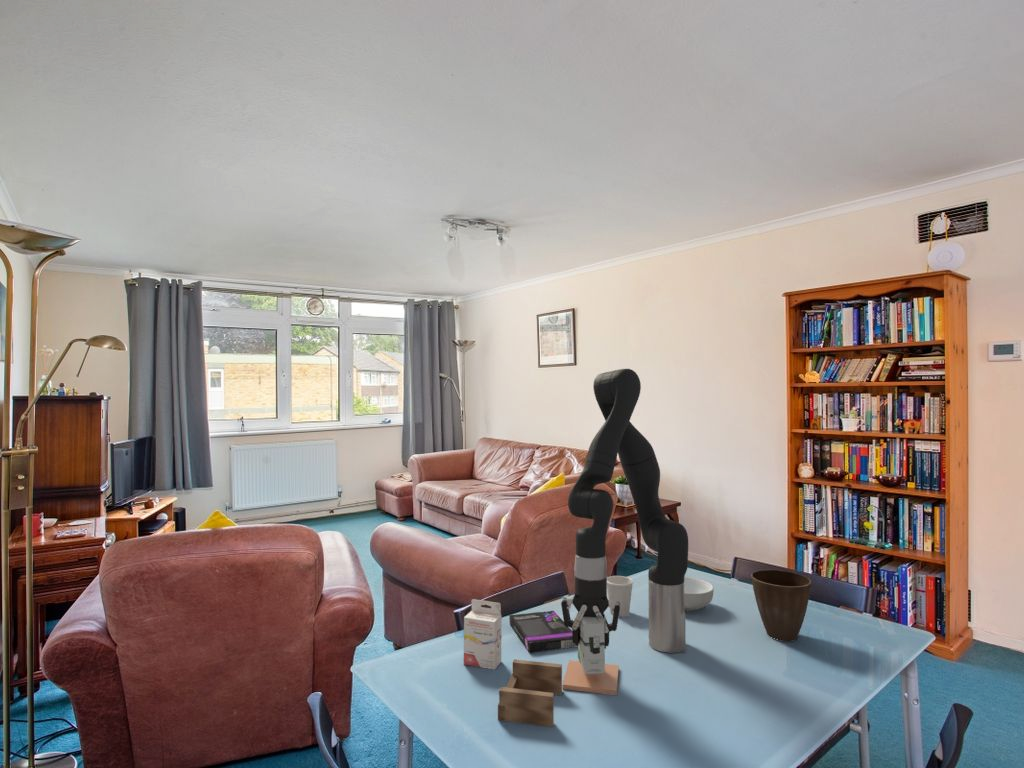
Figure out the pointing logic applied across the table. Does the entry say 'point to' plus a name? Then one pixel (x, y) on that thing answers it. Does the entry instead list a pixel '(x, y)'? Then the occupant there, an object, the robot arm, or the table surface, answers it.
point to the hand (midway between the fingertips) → (590, 645)
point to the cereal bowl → (696, 593)
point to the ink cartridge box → (483, 635)
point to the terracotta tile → (591, 679)
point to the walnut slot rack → (530, 693)
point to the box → (541, 631)
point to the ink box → (591, 645)
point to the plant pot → (781, 601)
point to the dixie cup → (620, 593)
